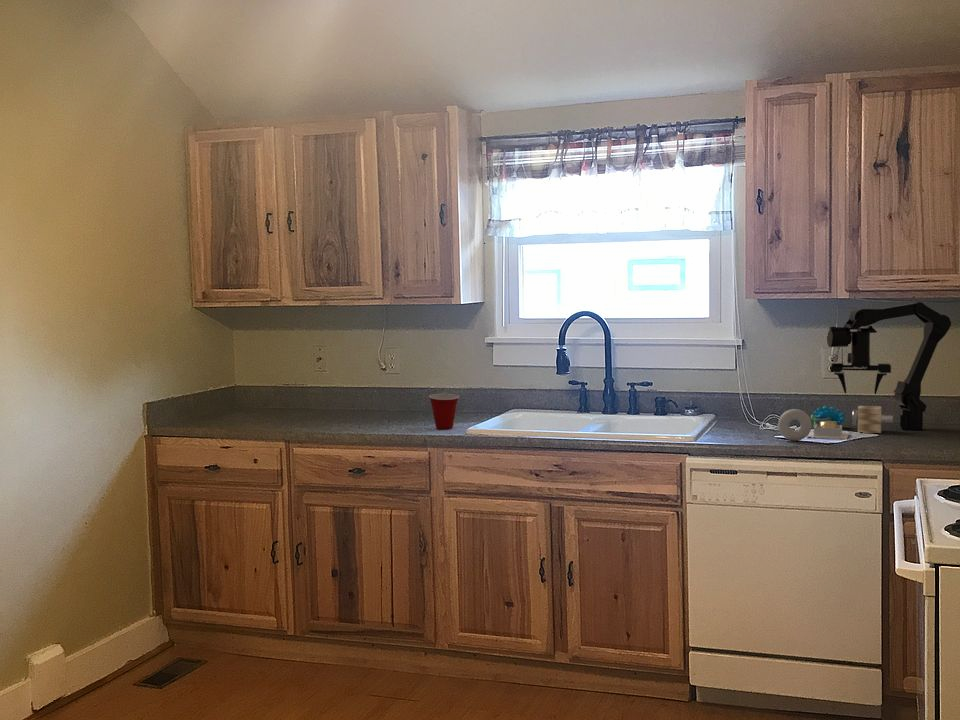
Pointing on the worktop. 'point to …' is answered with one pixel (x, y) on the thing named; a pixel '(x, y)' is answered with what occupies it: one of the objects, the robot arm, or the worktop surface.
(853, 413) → the shaft
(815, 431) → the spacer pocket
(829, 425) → the cylinder
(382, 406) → the worktop surface
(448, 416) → the plastic cup
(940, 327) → the robot arm
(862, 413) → the bearing block
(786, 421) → the donut
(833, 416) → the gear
